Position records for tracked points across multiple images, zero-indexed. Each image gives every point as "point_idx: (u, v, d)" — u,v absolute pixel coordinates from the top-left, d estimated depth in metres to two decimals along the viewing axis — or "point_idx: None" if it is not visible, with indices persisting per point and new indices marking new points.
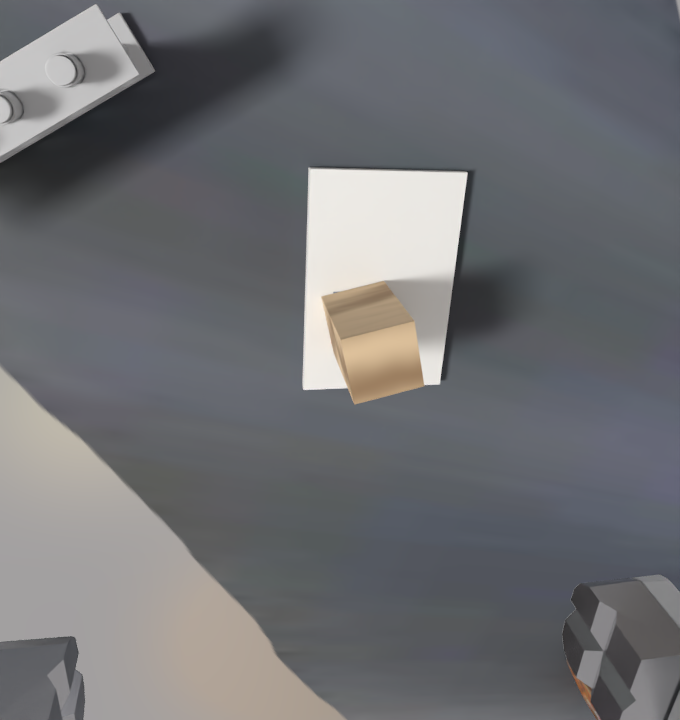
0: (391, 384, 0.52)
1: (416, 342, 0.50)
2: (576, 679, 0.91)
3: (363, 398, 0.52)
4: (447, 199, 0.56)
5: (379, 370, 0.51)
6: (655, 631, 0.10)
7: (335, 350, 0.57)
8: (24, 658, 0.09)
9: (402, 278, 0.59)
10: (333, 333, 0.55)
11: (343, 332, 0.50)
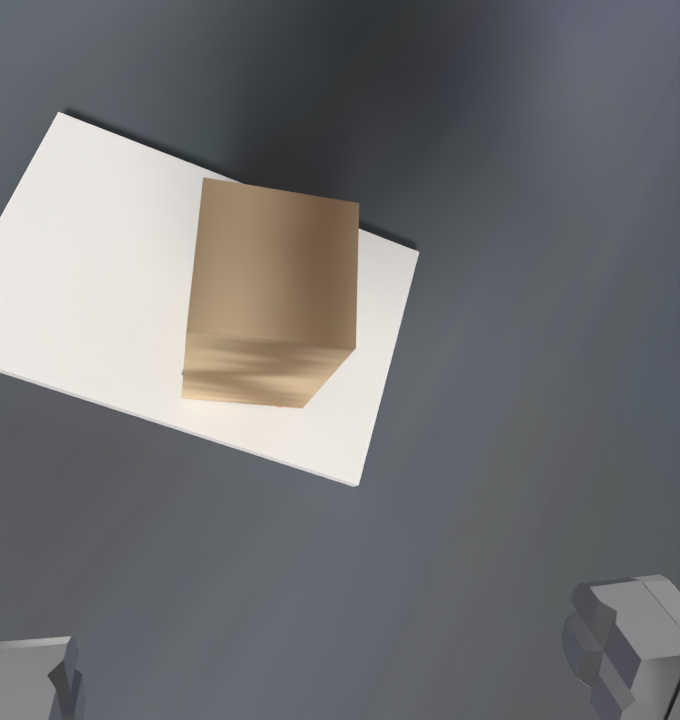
0: (334, 261, 0.24)
1: (253, 188, 0.24)
2: None
3: (347, 324, 0.23)
4: (90, 151, 0.33)
5: (292, 273, 0.23)
6: (655, 630, 0.10)
7: (278, 392, 0.29)
8: (24, 658, 0.09)
9: None
10: (226, 376, 0.27)
11: None
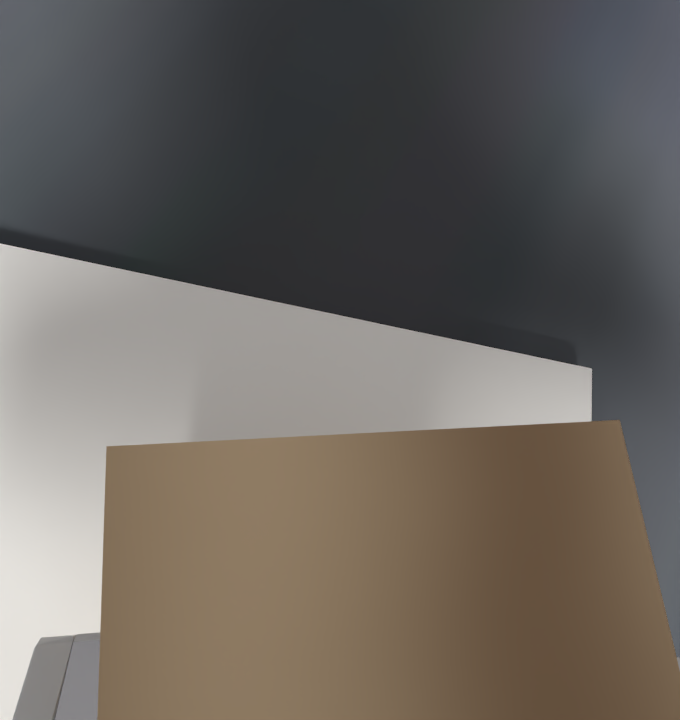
0: (600, 667, 0.07)
1: (284, 446, 0.07)
2: None
3: None
4: None
5: None
6: None
7: None
8: None
9: None
10: None
11: None
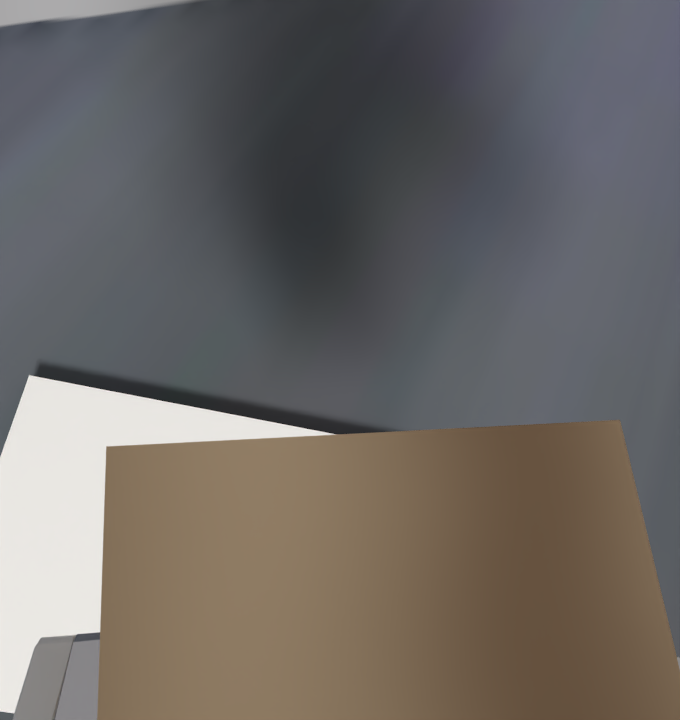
0: (601, 667, 0.07)
1: (284, 446, 0.07)
2: None
3: None
4: (69, 415, 0.30)
5: None
6: None
7: None
8: None
9: None
10: None
11: None
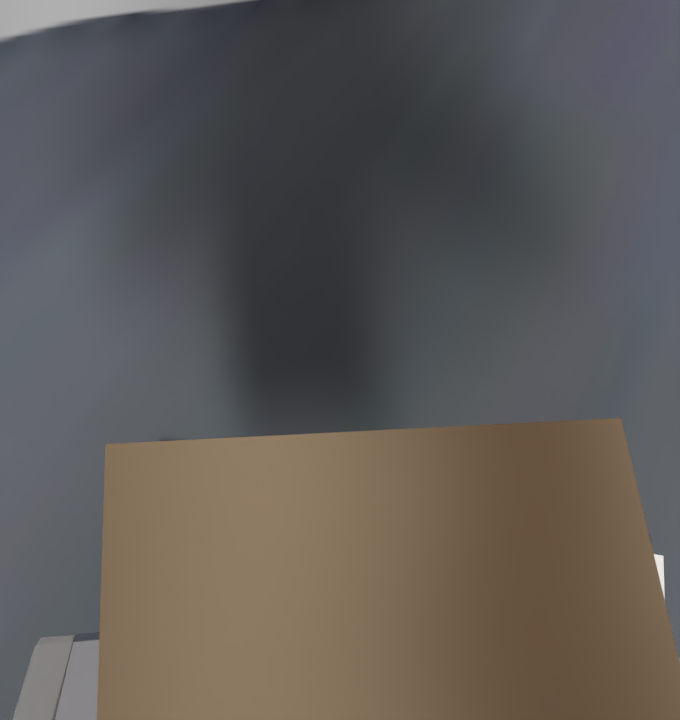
0: (602, 665, 0.07)
1: (284, 444, 0.07)
2: None
3: None
4: None
5: None
6: None
7: None
8: None
9: None
10: None
11: None
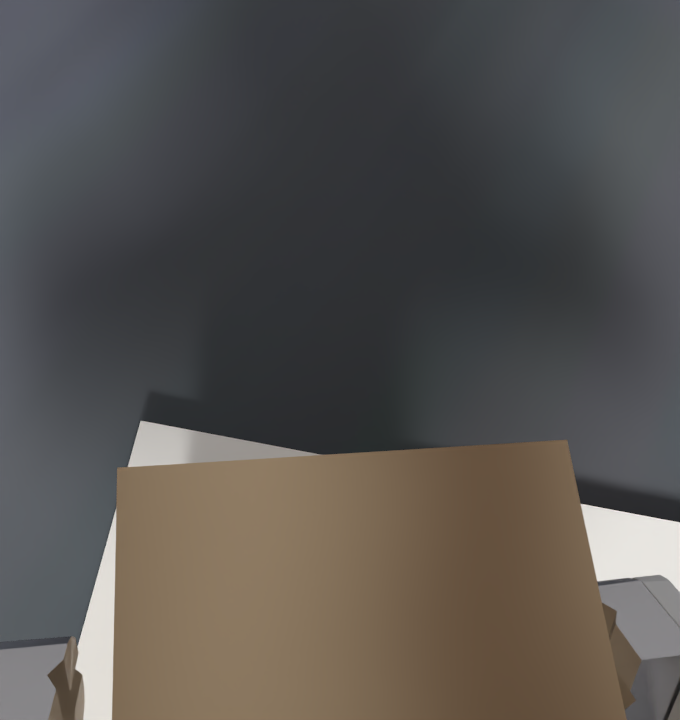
0: (544, 654, 0.08)
1: (271, 466, 0.08)
2: None
3: None
4: None
5: None
6: (655, 630, 0.10)
7: None
8: (24, 658, 0.09)
9: None
10: None
11: None
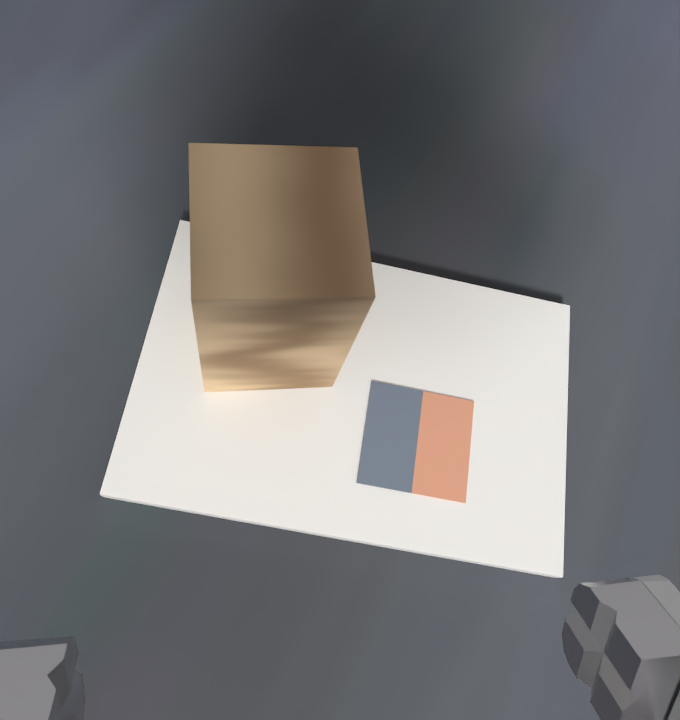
0: (339, 209, 0.22)
1: (243, 146, 0.22)
2: None
3: (362, 273, 0.21)
4: None
5: (295, 228, 0.21)
6: (654, 630, 0.10)
7: (303, 369, 0.27)
8: (24, 658, 0.09)
9: (351, 348, 0.31)
10: (244, 356, 0.25)
11: None
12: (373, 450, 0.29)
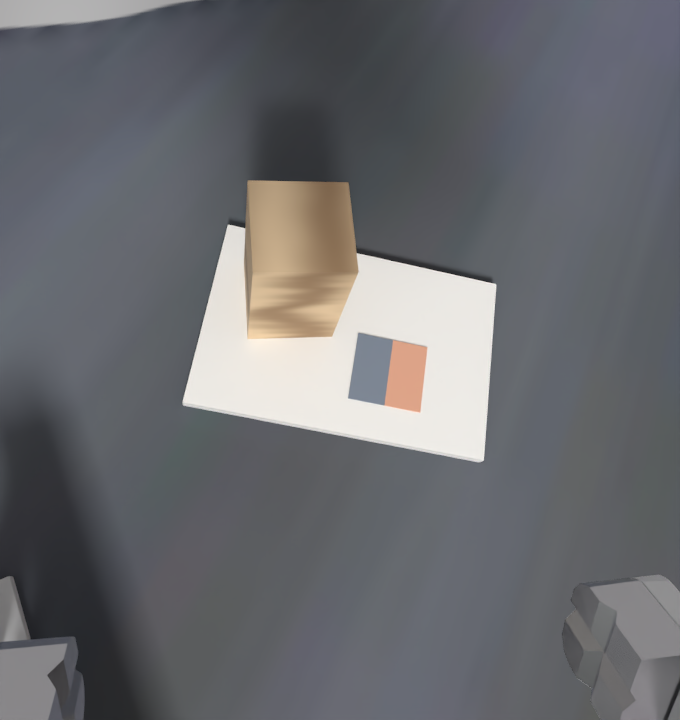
0: (337, 220, 0.37)
1: (279, 182, 0.37)
2: None
3: (350, 258, 0.36)
4: None
5: (311, 231, 0.36)
6: (655, 631, 0.10)
7: (313, 321, 0.42)
8: (24, 658, 0.09)
9: (344, 311, 0.46)
10: (277, 311, 0.40)
11: (251, 275, 0.36)
12: (359, 377, 0.45)
